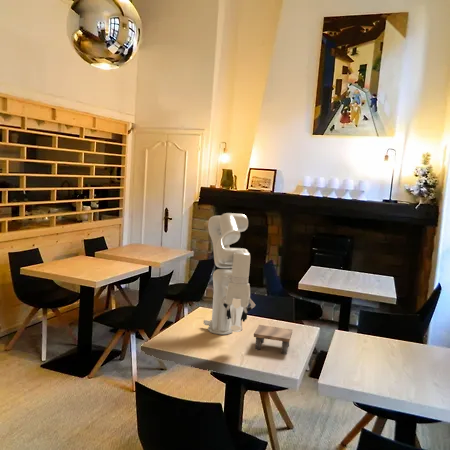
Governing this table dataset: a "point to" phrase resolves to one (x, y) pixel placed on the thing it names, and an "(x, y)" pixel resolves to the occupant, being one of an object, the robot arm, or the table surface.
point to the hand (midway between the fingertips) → (236, 319)
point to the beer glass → (236, 315)
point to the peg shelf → (272, 336)
